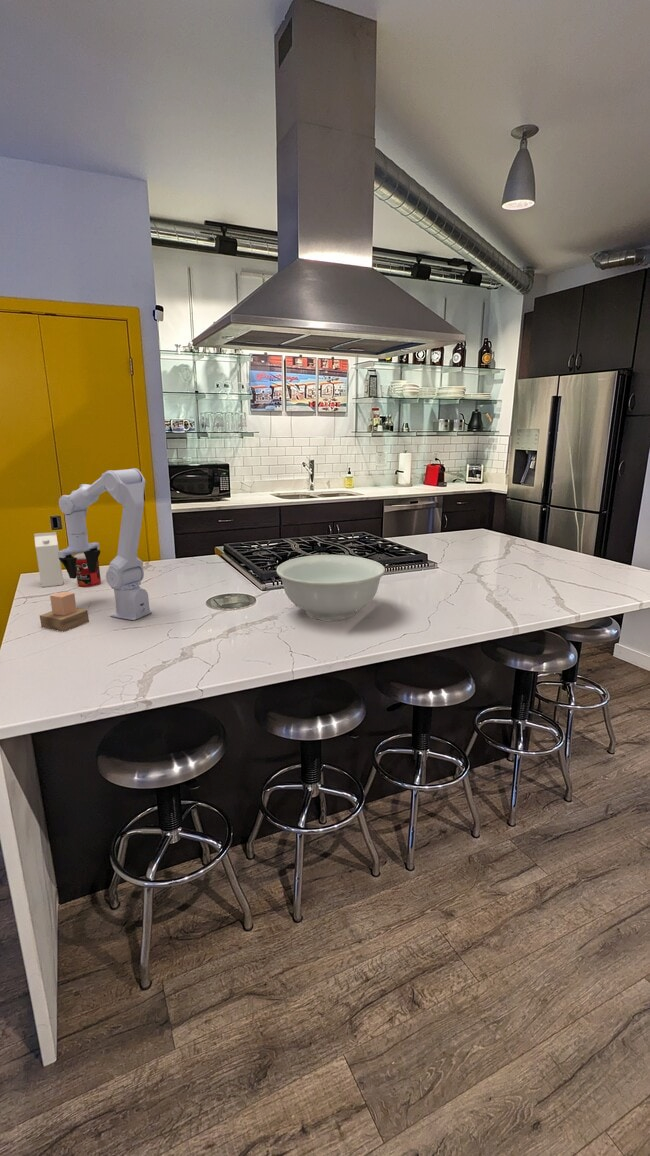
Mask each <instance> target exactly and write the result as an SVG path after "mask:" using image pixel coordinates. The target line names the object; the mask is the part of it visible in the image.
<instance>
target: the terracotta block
mask: <svg viewBox="0 0 650 1156" xmlns="http://www.w3.org/2000/svg"><path fill="white" fill-rule="evenodd" d="M49 598H50V599H49V600H50V605H51V611H52V613H53V614H56V615H62V616H65V615H68V614H71V613H73V612H76V611H77V610H76V608H77V603H76V594H75V592H69V591H68V592H67V591H61V592H57V593H55V594H51V595H50V596H49Z"/></svg>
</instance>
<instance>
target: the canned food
mask: <svg viewBox="0 0 650 1156" xmlns="http://www.w3.org/2000/svg"><path fill="white" fill-rule="evenodd" d="M73 557H75V558H77V560H76V582H77V583H76V584H77V586H78V587H81V588H91V587H96V586H98V585H100V584H101V582H102V579H101V573H100V572H101V570H100V562H99V559H98V560H97V564H96V570H95V573H92V572H89V570H88V565H87V560H86V557H85V555H84V552H82V553H78V554H74V556H73Z"/></svg>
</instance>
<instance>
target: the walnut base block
mask: <svg viewBox="0 0 650 1156" xmlns="http://www.w3.org/2000/svg"><path fill="white" fill-rule="evenodd" d="M76 610H77V611H76V612H73V613H71V614H68V615H65V616H62V615H56V614H53V613H52V610H51V611H49V612H46V613H42V614H39V620H40V626H41V628H43V627H44V629H47V628H48V629H49V630H52V629H53V631H57V630H58V631H59V632H62V631H63V632H64V631H65V632H67V631H69V629H70V630H72V629H74V628H75V629H76V628H77V627H80V626H82V625H84V624H87V623H90V618H89V617H90V616H89V611H88V609H84V608H78V607H76ZM63 632H62V633H63Z"/></svg>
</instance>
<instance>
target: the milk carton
mask: <svg viewBox="0 0 650 1156" xmlns="http://www.w3.org/2000/svg"><path fill="white" fill-rule="evenodd" d="M33 536H34V547H35V552H36V553H35V554H36V561H37V565H38V566H37V567H38V573H39V579H40V580H39V581H40V586H41V588H46V587H54V586H63V585H64V577H63V569H62V562H61V561H60V560H59V557H58V551H60V548H59V547H60V546H59V541H58V537H57V531H52V532H39V533H33Z"/></svg>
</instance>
